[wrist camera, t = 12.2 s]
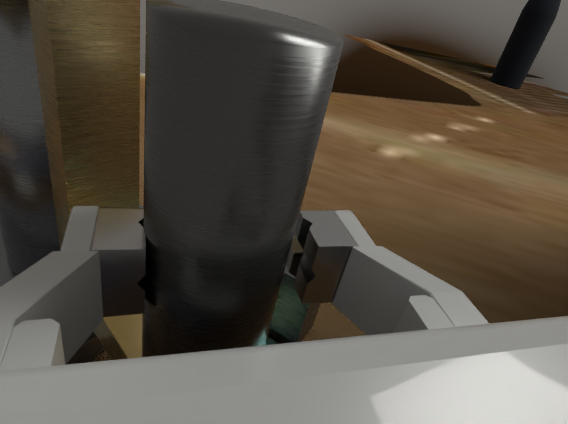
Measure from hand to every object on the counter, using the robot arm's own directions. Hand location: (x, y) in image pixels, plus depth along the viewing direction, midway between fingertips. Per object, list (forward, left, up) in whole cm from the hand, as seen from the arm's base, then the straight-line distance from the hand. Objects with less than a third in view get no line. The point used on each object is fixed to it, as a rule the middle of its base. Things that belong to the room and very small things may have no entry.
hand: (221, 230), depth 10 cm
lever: (-1, -5, -7) cm, 9 cm away
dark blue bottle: (-98, +4, -9) cm, 99 cm away
